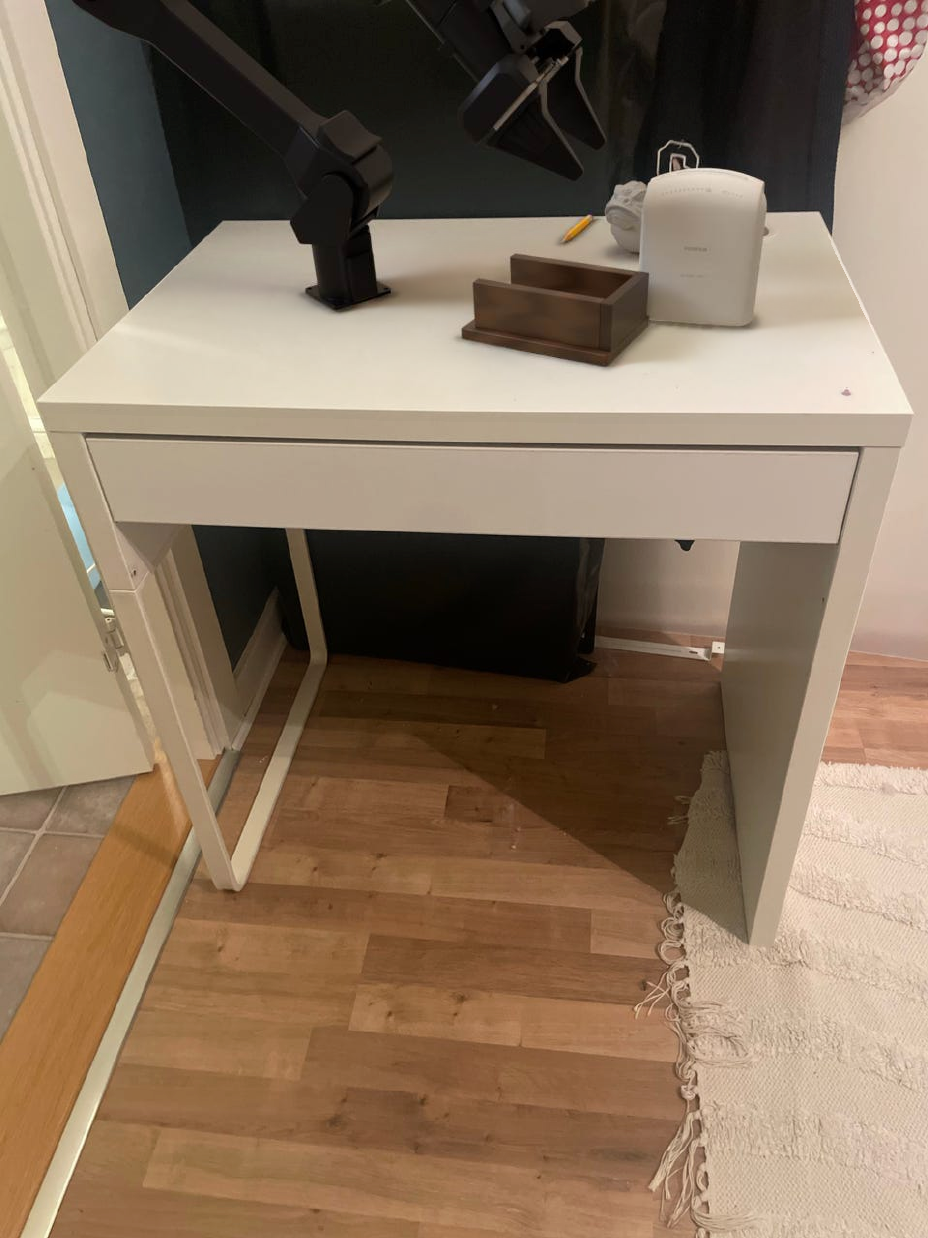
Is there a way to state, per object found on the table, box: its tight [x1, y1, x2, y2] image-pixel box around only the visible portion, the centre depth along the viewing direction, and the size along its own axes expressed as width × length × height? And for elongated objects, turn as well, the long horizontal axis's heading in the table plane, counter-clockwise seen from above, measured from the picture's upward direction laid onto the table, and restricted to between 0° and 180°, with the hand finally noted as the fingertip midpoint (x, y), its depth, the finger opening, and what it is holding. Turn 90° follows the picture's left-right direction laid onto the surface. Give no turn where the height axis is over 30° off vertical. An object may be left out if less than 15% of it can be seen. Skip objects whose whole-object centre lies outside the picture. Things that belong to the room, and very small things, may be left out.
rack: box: [460, 253, 650, 367], centre depth 83 cm, size 14×9×5 cm, turn 59°
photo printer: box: [638, 167, 768, 327], centre depth 81 cm, size 10×4×12 cm, turn 70°
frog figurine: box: [604, 180, 647, 253], centre depth 96 cm, size 6×7×7 cm
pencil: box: [561, 214, 594, 243], centre depth 104 cm, size 1×8×1 cm, turn 154°
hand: (591, 160), depth 79 cm, fingers open, 9 cm apart
